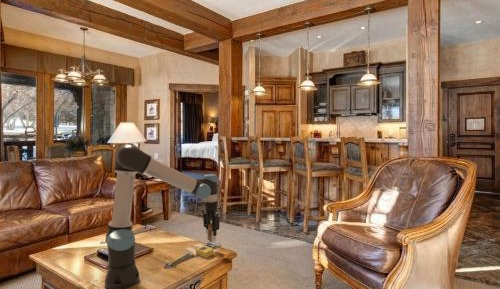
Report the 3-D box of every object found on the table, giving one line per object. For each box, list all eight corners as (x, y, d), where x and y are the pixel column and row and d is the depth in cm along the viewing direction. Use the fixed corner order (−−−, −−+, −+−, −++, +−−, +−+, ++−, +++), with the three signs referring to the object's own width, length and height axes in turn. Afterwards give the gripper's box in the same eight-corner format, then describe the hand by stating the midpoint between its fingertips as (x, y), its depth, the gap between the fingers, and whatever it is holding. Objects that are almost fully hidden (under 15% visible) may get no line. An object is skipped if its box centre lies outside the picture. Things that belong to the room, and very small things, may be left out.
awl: (211, 242, 178) (211, 225, 177) (207, 240, 180) (207, 224, 179) (215, 240, 180) (215, 223, 180) (211, 239, 183) (211, 222, 182)
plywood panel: (201, 260, 168) (201, 258, 168) (180, 252, 179) (180, 250, 179) (219, 252, 179) (219, 250, 179) (199, 245, 190) (199, 243, 190)
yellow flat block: (205, 257, 169) (205, 252, 169) (195, 254, 174) (195, 248, 174) (213, 254, 173) (213, 248, 173) (203, 250, 178) (203, 245, 178)
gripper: (225, 201, 177) (226, 241, 178) (206, 197, 187) (206, 235, 188) (216, 204, 171) (216, 245, 172) (196, 200, 181) (197, 239, 182)
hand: (211, 240), depth 180 cm, fingers closed on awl, 3 cm apart
